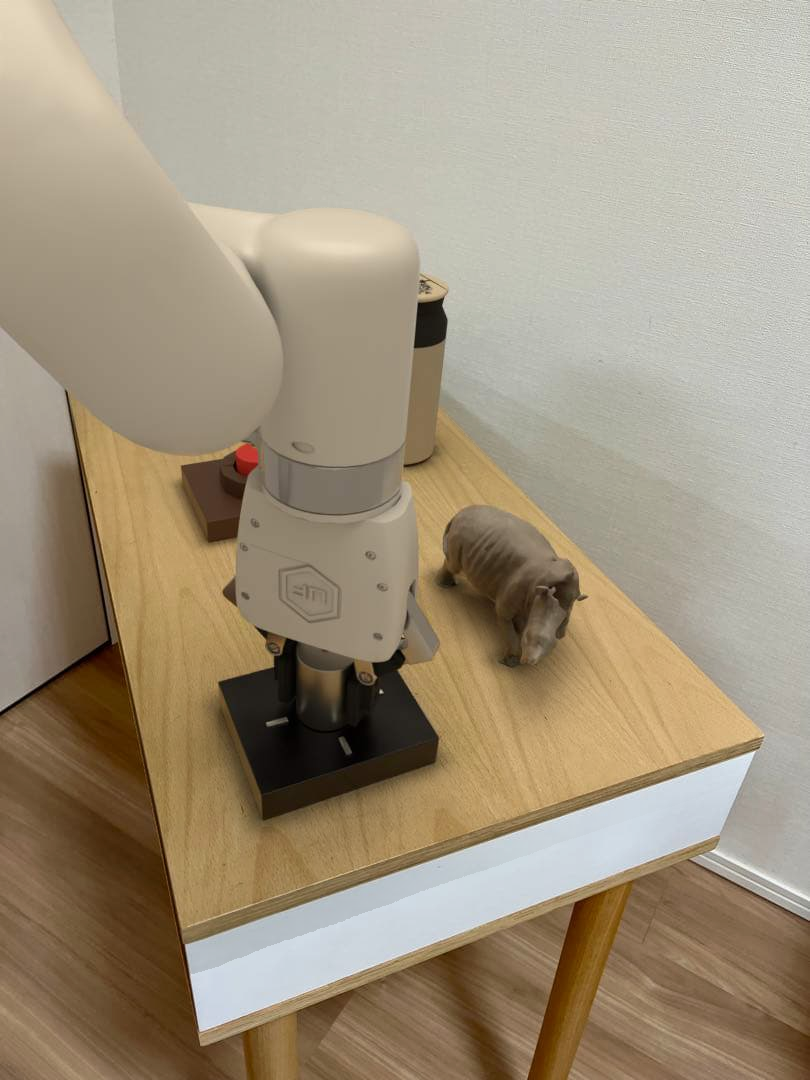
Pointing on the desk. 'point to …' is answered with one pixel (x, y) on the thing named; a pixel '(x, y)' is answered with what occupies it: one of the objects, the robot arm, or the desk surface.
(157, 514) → the desk surface
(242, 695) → the dial panel
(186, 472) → the button housing
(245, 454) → the power button
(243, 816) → the desk surface
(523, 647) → the rhinoceros figurine
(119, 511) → the desk surface
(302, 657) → the dial
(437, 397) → the travel mug
